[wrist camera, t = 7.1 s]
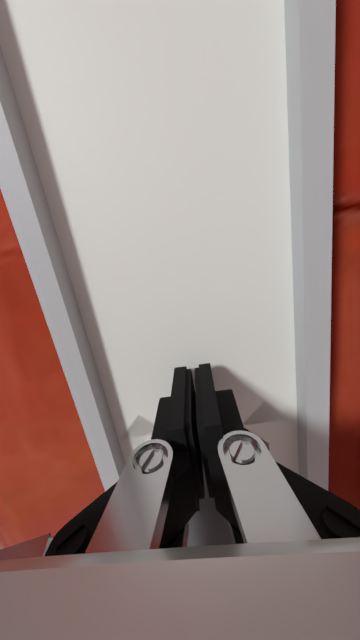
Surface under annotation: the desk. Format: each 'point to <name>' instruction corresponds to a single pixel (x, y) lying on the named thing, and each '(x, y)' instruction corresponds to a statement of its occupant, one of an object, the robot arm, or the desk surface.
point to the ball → (208, 524)
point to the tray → (177, 207)
